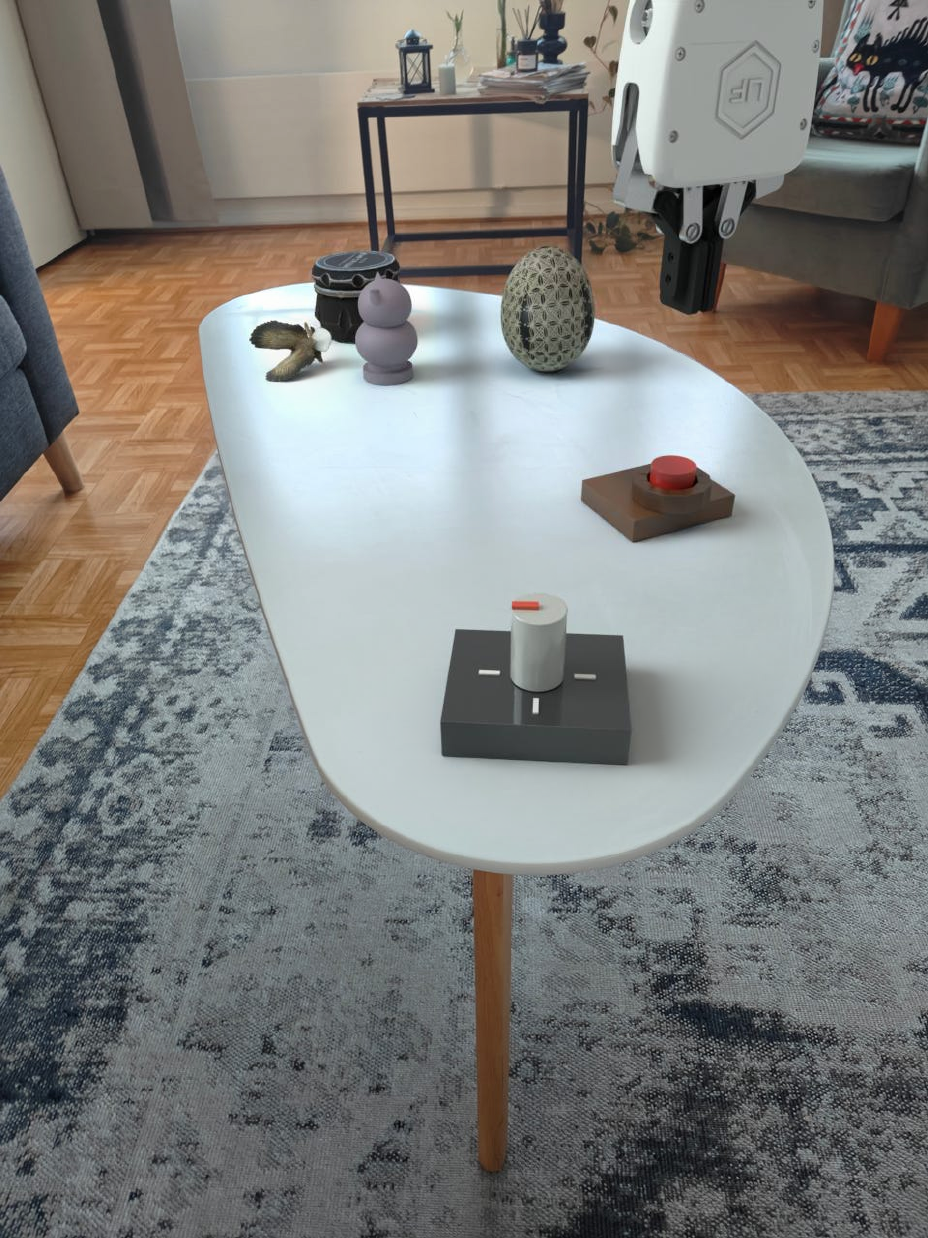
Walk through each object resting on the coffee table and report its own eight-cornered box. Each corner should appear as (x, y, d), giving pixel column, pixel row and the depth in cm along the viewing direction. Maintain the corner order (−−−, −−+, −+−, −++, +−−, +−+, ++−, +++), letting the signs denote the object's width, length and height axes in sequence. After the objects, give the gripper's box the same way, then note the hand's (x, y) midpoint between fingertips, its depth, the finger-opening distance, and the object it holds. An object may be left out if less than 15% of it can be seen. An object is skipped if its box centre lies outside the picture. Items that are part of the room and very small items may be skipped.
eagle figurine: (294, 344, 122) (240, 349, 116) (314, 303, 118) (259, 307, 111) (325, 386, 121) (272, 393, 114) (347, 346, 116) (292, 351, 110)
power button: (676, 468, 84) (679, 451, 83) (703, 486, 81) (705, 468, 80) (640, 477, 83) (642, 460, 82) (666, 495, 80) (668, 478, 79)
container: (314, 321, 135) (306, 251, 129) (400, 314, 136) (395, 245, 131) (319, 349, 124) (310, 274, 119) (411, 341, 126) (407, 267, 120)
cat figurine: (417, 388, 112) (412, 289, 105) (354, 389, 112) (345, 289, 105) (421, 364, 119) (417, 269, 112) (362, 364, 119) (354, 270, 112)
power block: (674, 476, 91) (679, 439, 88) (738, 520, 83) (745, 480, 81) (580, 500, 87) (582, 462, 85) (638, 547, 79) (642, 507, 77)
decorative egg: (566, 391, 110) (572, 263, 101) (483, 375, 115) (482, 251, 106) (606, 362, 118) (614, 241, 109) (527, 348, 123) (529, 231, 114)
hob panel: (619, 668, 66) (623, 633, 64) (627, 765, 58) (632, 728, 56) (456, 661, 67) (455, 626, 65) (441, 756, 59) (439, 719, 57)
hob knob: (563, 659, 62) (567, 588, 58) (564, 693, 59) (568, 621, 55) (510, 658, 62) (511, 587, 59) (509, 691, 59) (510, 619, 56)
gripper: (646, -90, 38) (613, 345, 48) (911, -89, 43) (828, 305, 53) (557, -79, 43) (544, 308, 54) (800, -79, 48) (745, 276, 59)
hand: (685, 306), depth 53 cm, fingers closed
